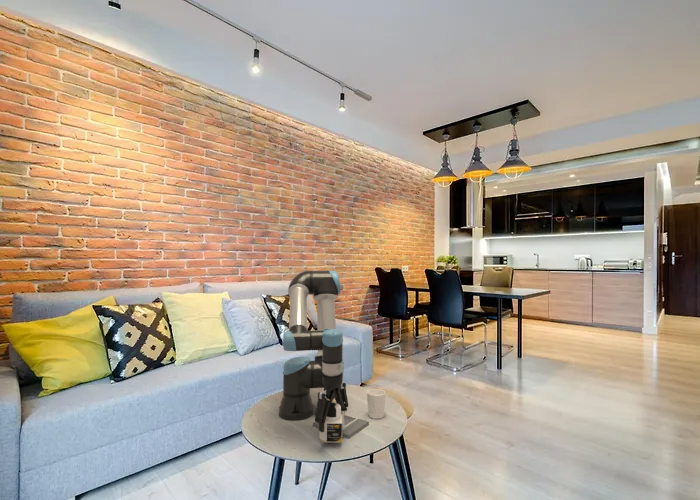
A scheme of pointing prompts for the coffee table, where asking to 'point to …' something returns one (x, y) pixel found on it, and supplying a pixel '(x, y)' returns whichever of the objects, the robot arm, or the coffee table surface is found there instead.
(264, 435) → the coffee table surface
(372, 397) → the white cup
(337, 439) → the medicine bottle
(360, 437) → the coffee table surface
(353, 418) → the peg board
